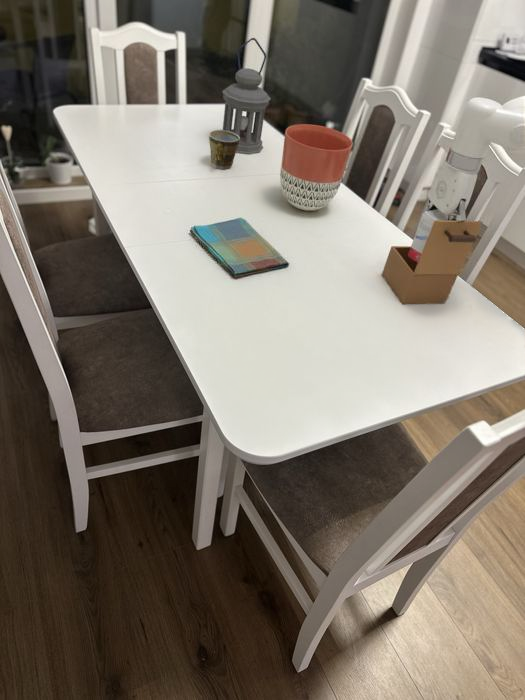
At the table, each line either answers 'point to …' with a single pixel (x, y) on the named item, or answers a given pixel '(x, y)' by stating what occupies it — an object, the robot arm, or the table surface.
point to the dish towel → (238, 247)
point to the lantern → (246, 107)
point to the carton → (415, 279)
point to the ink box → (424, 232)
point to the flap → (447, 247)
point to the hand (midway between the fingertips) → (435, 232)
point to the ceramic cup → (223, 148)
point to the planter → (313, 165)
